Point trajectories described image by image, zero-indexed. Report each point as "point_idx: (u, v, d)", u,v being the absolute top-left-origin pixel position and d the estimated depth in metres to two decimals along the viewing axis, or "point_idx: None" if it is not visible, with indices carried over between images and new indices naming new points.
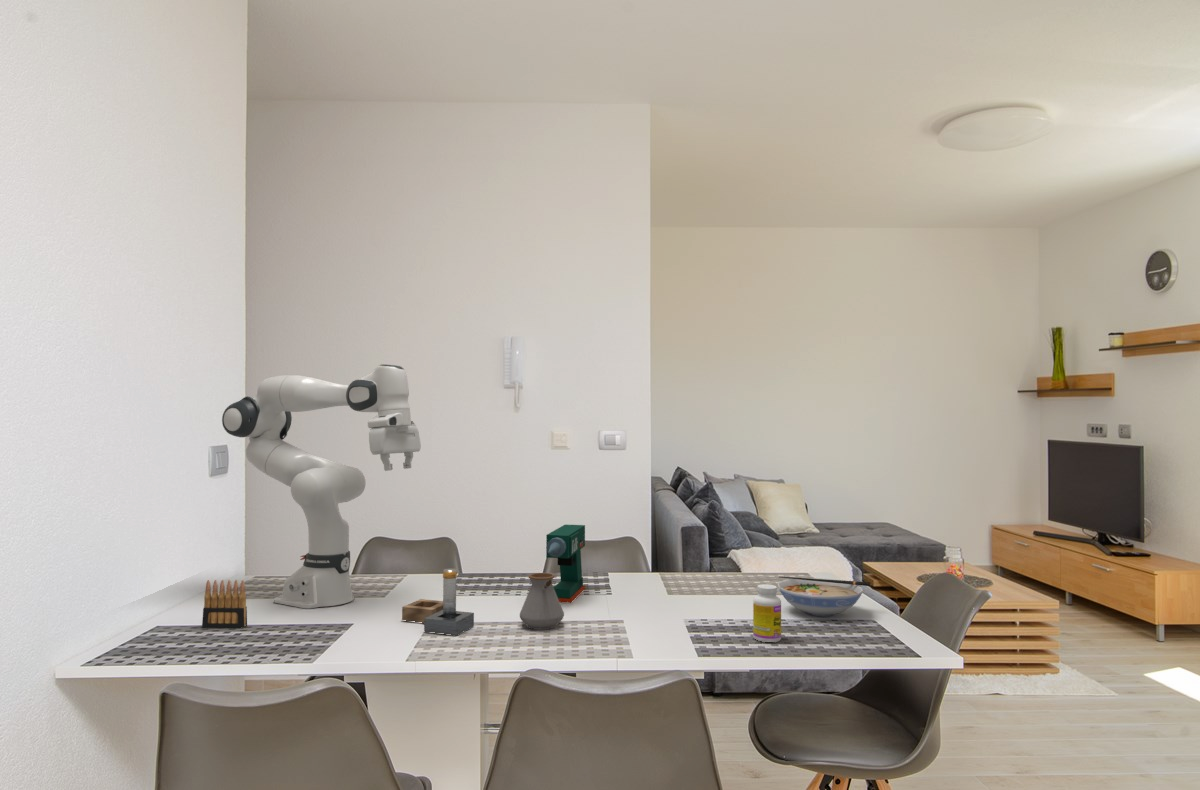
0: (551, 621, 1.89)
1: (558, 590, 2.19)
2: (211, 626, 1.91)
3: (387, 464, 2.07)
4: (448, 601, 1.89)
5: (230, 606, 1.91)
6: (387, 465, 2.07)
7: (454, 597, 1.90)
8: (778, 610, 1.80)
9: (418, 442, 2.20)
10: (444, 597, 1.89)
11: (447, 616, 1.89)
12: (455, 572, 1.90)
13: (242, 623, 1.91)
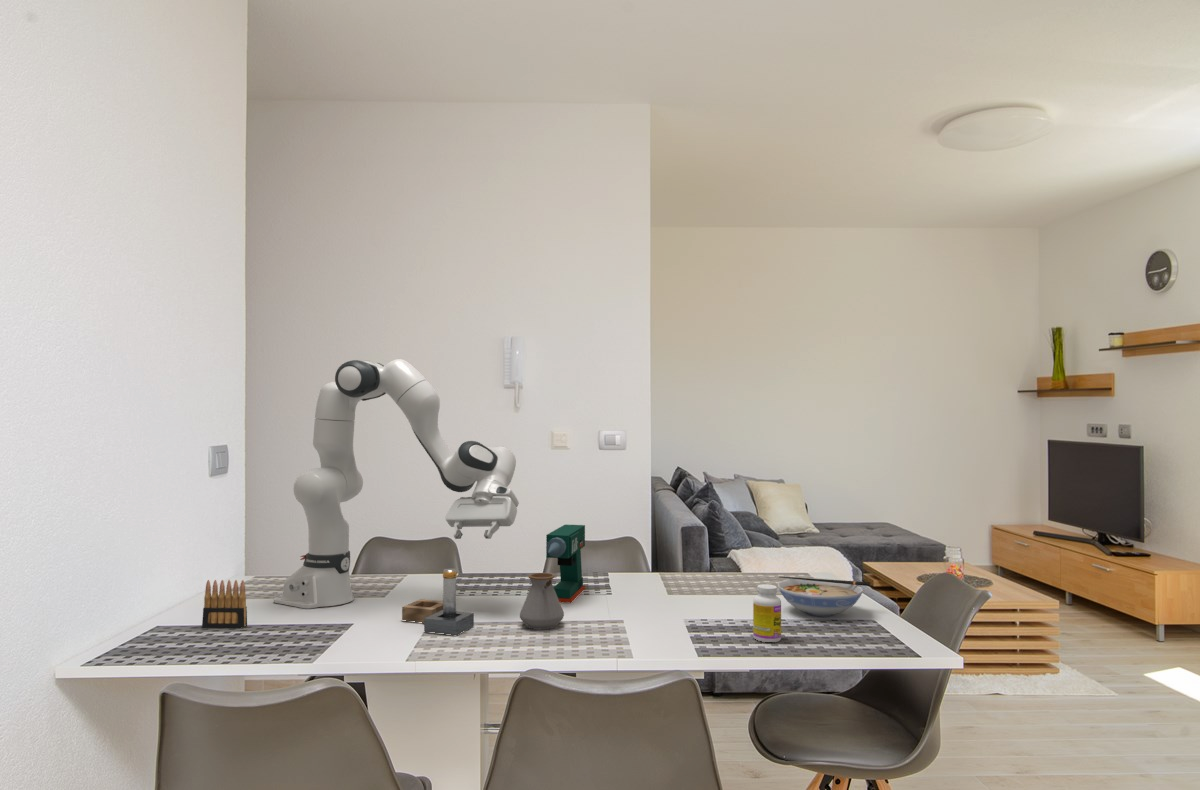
0: (551, 621, 1.89)
1: (558, 590, 2.19)
2: (211, 626, 1.91)
3: (492, 532, 2.01)
4: (448, 601, 1.89)
5: (230, 606, 1.91)
6: (491, 533, 2.01)
7: (454, 597, 1.90)
8: (778, 610, 1.80)
9: None
10: (444, 597, 1.89)
11: (447, 616, 1.89)
12: (455, 572, 1.90)
13: (242, 623, 1.91)
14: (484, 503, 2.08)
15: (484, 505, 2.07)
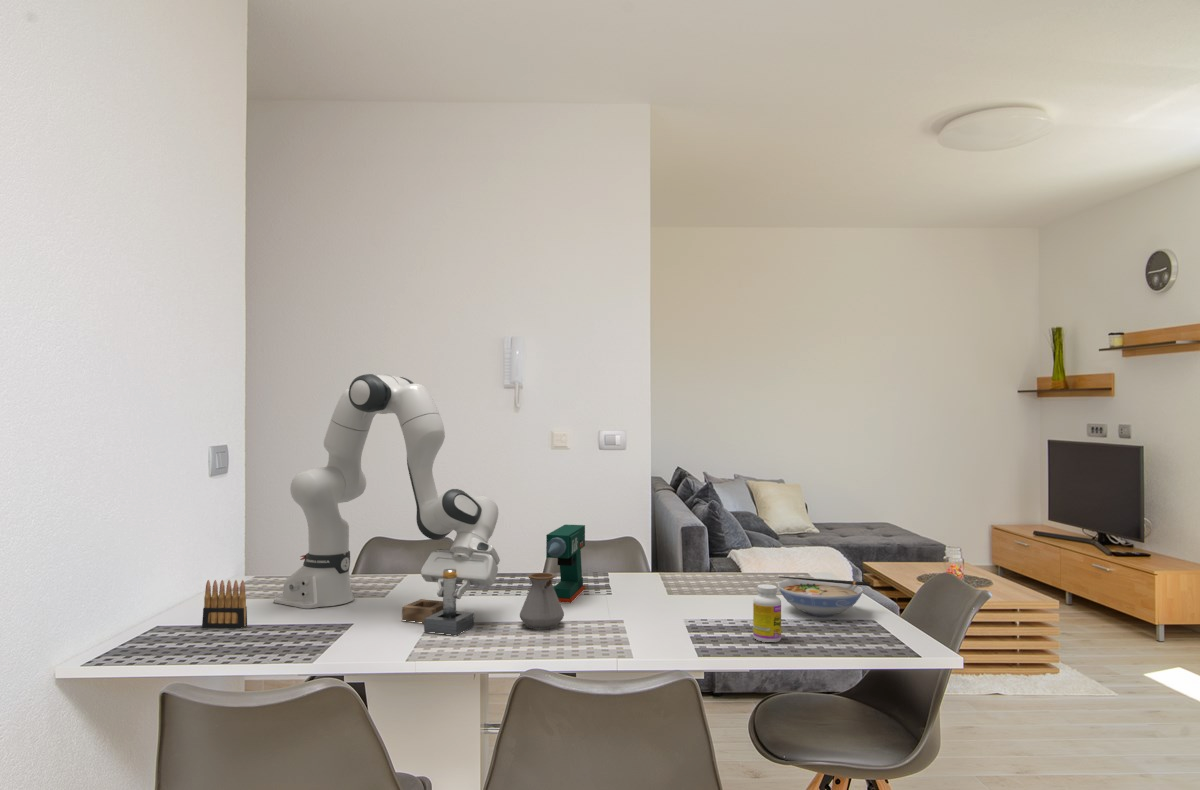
0: (551, 621, 1.89)
1: (558, 590, 2.19)
2: (211, 626, 1.91)
3: (462, 592, 1.90)
4: (448, 601, 1.89)
5: (230, 606, 1.91)
6: (461, 593, 1.90)
7: None
8: (778, 610, 1.80)
9: None
10: (444, 597, 1.89)
11: (447, 616, 1.89)
12: (455, 572, 1.90)
13: (242, 623, 1.91)
14: (463, 559, 1.96)
15: (463, 562, 1.95)
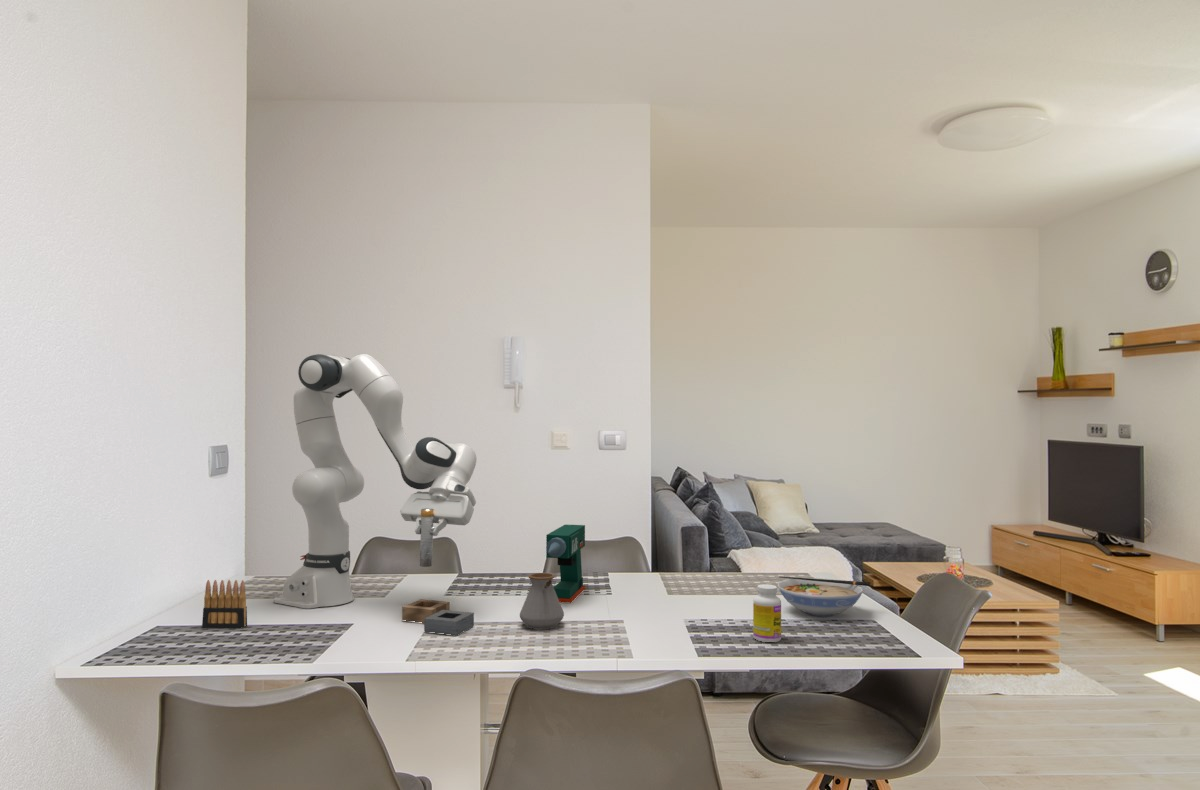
0: (551, 621, 1.89)
1: (558, 590, 2.19)
2: (211, 626, 1.91)
3: (438, 530, 2.00)
4: (425, 538, 1.99)
5: (230, 606, 1.91)
6: (437, 530, 2.00)
7: (431, 535, 2.00)
8: (778, 610, 1.80)
9: None
10: (421, 534, 1.99)
11: (424, 552, 1.99)
12: (432, 511, 2.00)
13: (242, 623, 1.91)
14: (441, 500, 2.05)
15: (441, 502, 2.05)
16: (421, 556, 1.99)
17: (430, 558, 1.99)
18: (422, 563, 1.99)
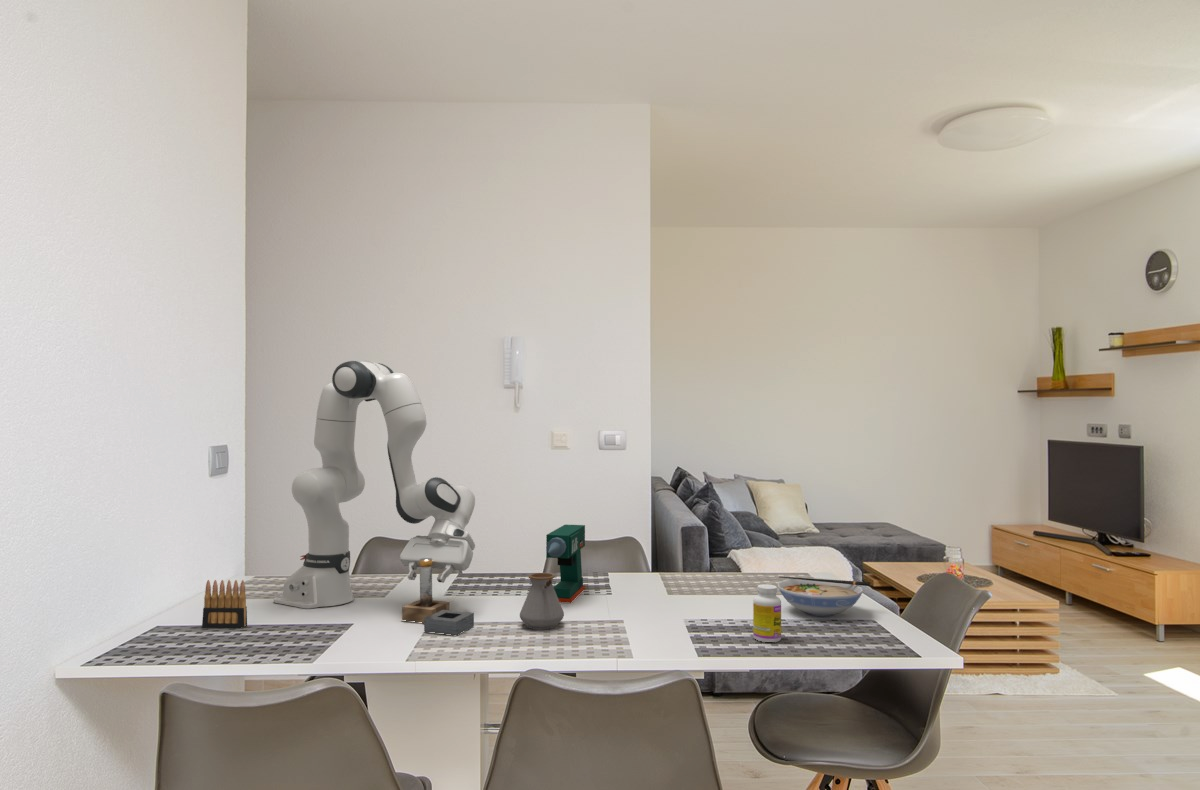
0: (551, 621, 1.89)
1: (558, 590, 2.19)
2: (211, 626, 1.91)
3: (445, 576, 2.00)
4: (424, 588, 1.99)
5: (230, 606, 1.91)
6: (444, 577, 2.00)
7: (430, 585, 2.00)
8: (778, 610, 1.80)
9: None
10: (420, 585, 1.99)
11: (424, 603, 1.99)
12: (431, 561, 2.00)
13: (242, 623, 1.91)
14: (440, 545, 2.06)
15: (440, 547, 2.05)
16: (420, 606, 1.99)
17: None
18: None
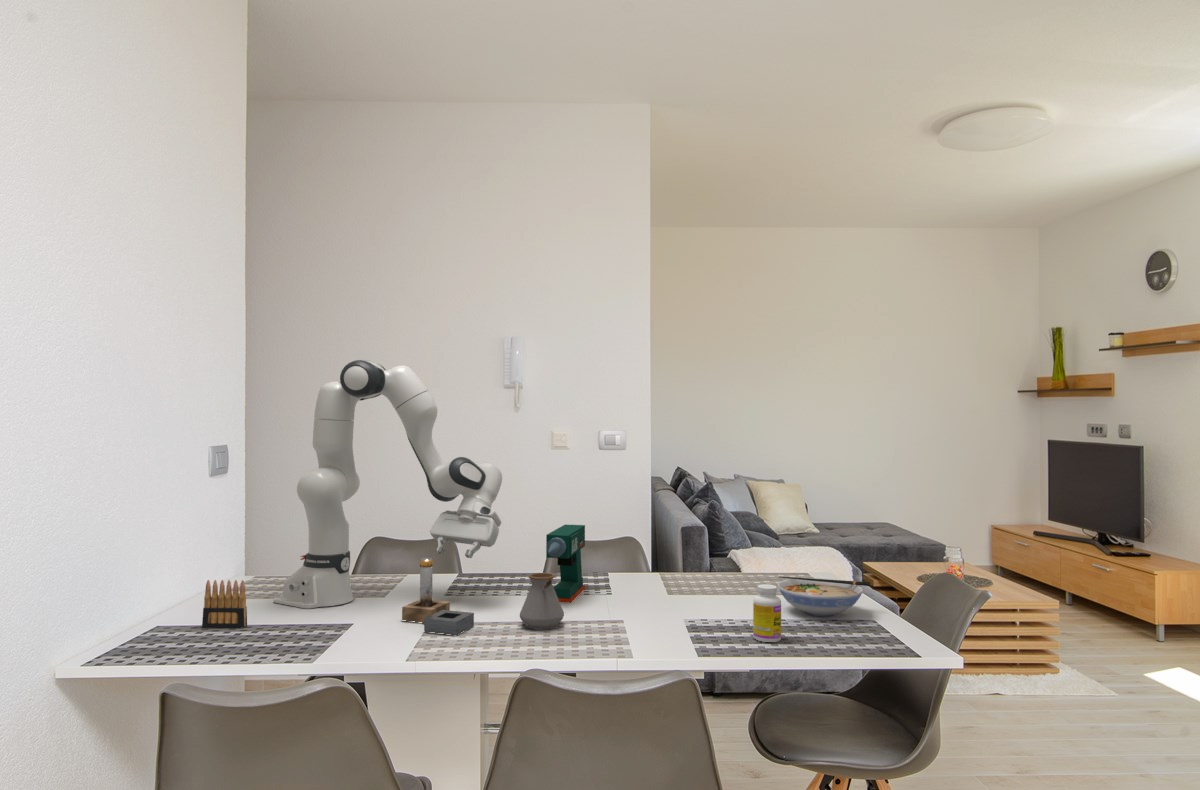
0: (551, 621, 1.89)
1: (558, 590, 2.19)
2: (211, 626, 1.91)
3: (473, 552, 2.10)
4: (424, 588, 1.99)
5: (230, 606, 1.91)
6: (472, 553, 2.10)
7: (430, 585, 2.00)
8: (778, 610, 1.80)
9: None
10: (421, 585, 1.99)
11: (424, 603, 1.99)
12: (431, 561, 2.00)
13: (242, 623, 1.91)
14: (468, 521, 2.16)
15: (468, 523, 2.15)
16: (421, 606, 1.99)
17: None
18: None
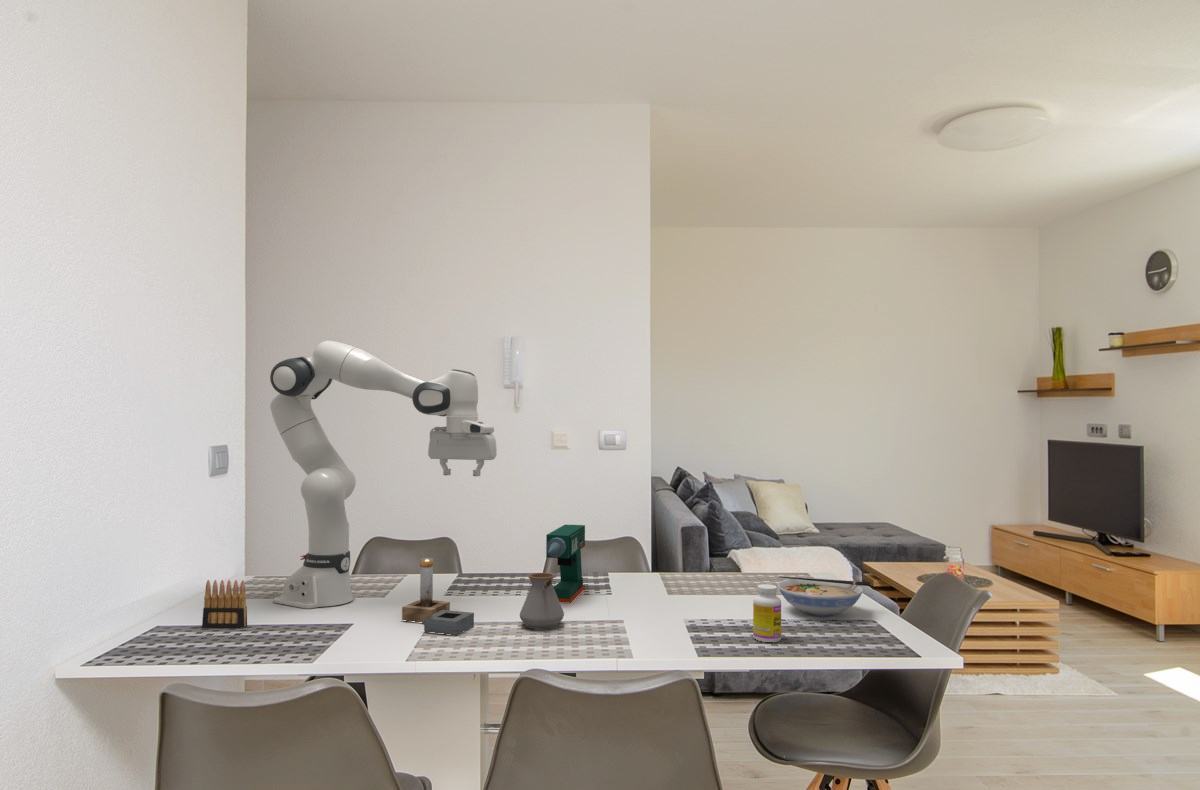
0: (551, 621, 1.89)
1: (558, 590, 2.19)
2: (211, 626, 1.91)
3: (479, 470, 2.11)
4: (425, 589, 1.99)
5: (230, 606, 1.91)
6: (479, 471, 2.11)
7: (430, 585, 2.00)
8: (778, 610, 1.80)
9: None
10: (421, 585, 1.99)
11: (424, 603, 1.99)
12: (431, 561, 2.00)
13: (242, 623, 1.91)
14: (461, 440, 2.11)
15: (463, 442, 2.11)
16: (421, 606, 1.99)
17: None
18: None
